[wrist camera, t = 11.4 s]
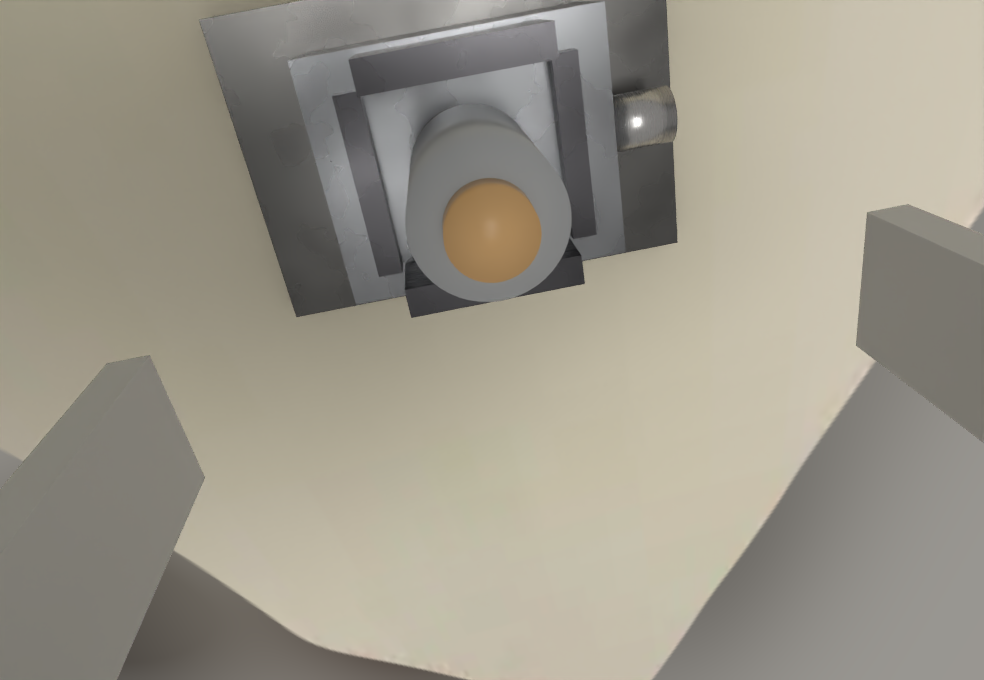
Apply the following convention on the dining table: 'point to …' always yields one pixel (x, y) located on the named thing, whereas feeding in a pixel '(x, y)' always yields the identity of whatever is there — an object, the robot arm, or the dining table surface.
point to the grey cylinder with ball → (484, 206)
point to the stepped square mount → (423, 95)
